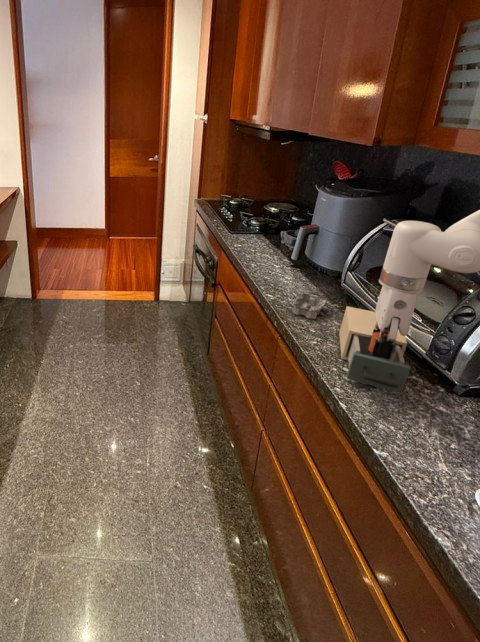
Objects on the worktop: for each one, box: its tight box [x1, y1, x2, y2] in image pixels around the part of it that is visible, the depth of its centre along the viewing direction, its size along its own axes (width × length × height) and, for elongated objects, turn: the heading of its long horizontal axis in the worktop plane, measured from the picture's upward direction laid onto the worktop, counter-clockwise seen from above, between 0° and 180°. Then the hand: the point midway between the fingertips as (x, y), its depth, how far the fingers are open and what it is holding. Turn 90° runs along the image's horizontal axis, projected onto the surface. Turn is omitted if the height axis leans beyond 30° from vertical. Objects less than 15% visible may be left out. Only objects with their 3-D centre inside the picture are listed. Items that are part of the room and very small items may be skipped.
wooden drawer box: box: [339, 305, 408, 361], centre depth 98 cm, size 13×11×8 cm
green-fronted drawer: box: [346, 334, 411, 394], centre depth 89 cm, size 17×10×7 cm, turn 152°
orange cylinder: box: [368, 332, 388, 353], centre depth 88 cm, size 4×4×4 cm
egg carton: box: [291, 289, 326, 320], centre depth 118 cm, size 11×8×4 cm
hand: (379, 350), depth 89 cm, fingers closed on orange cylinder, 4 cm apart
